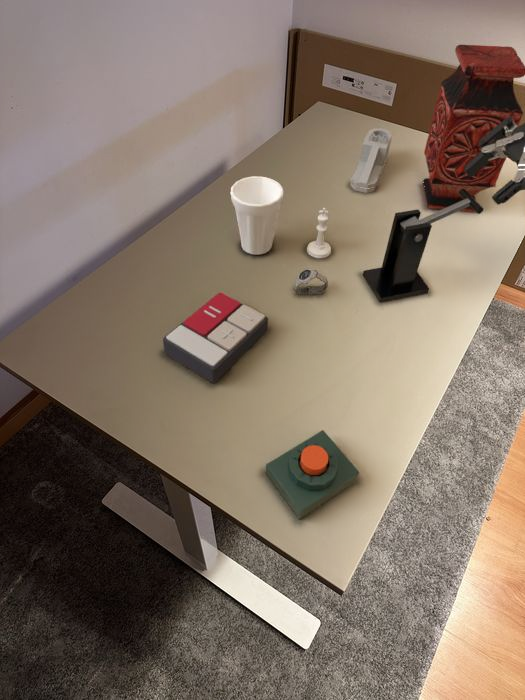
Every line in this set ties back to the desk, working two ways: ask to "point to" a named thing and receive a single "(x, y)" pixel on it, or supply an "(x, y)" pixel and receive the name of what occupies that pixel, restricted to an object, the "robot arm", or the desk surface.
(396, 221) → the bracket
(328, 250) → the chess piece
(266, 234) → the cup
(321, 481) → the control block
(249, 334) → the calculator
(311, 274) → the wristwatch
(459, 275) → the desk surface
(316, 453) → the orange button
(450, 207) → the lever
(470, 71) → the vase
